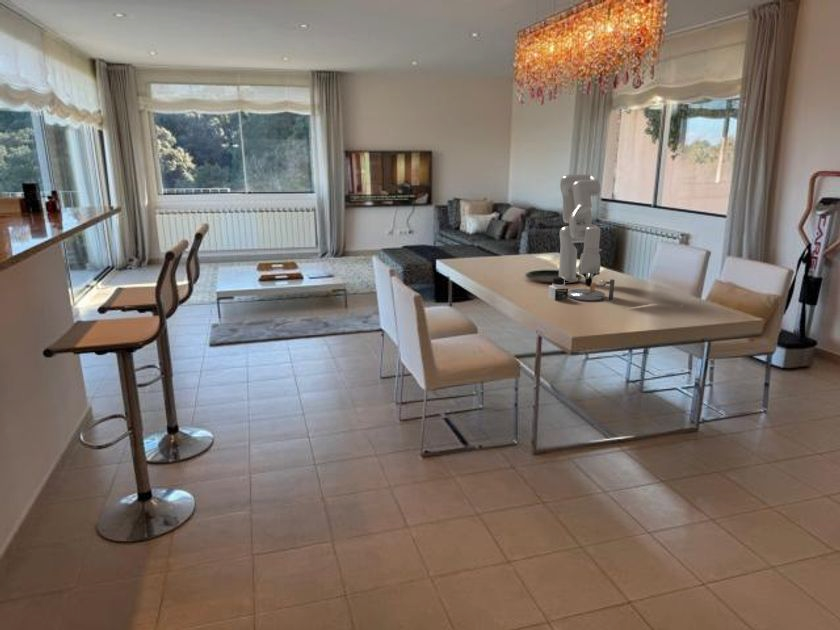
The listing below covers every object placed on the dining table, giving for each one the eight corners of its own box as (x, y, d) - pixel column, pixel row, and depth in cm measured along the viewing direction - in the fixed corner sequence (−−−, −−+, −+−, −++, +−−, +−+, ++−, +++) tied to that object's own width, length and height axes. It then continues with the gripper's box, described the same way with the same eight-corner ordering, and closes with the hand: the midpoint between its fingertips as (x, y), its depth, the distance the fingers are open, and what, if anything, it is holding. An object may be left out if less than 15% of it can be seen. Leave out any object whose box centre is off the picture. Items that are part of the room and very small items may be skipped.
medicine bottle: (554, 302, 287) (556, 279, 284) (548, 298, 294) (549, 276, 290) (567, 301, 289) (569, 278, 286) (560, 297, 296) (562, 275, 292)
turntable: (594, 303, 281) (595, 291, 279) (561, 297, 292) (562, 285, 291) (610, 296, 294) (611, 284, 292) (578, 290, 305) (579, 279, 304)
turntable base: (562, 294, 302) (562, 292, 302) (598, 293, 303) (598, 292, 302) (572, 303, 284) (572, 301, 284) (610, 303, 284) (610, 301, 284)
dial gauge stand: (596, 300, 291) (598, 278, 287) (613, 300, 291) (615, 278, 287) (598, 302, 287) (600, 280, 284) (615, 302, 287) (617, 280, 284)
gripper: (603, 249, 297) (600, 283, 302) (574, 249, 297) (571, 284, 302) (607, 252, 290) (604, 287, 295) (578, 252, 290) (575, 287, 295)
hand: (588, 285), depth 299 cm, fingers closed
